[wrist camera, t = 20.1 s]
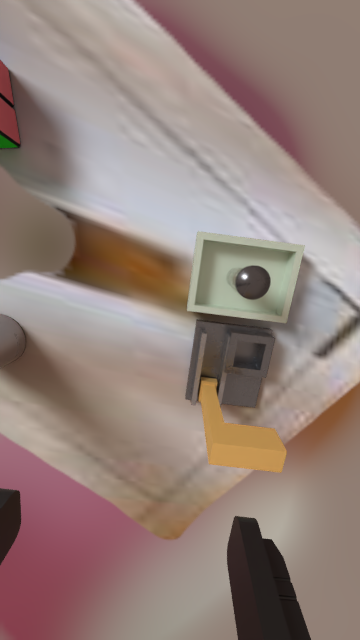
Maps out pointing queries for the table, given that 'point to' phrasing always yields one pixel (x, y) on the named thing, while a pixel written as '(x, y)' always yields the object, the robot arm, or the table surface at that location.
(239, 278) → the pin
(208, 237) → the tray
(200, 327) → the hitch
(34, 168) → the table surface
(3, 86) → the puzzle cube
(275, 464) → the bracket
